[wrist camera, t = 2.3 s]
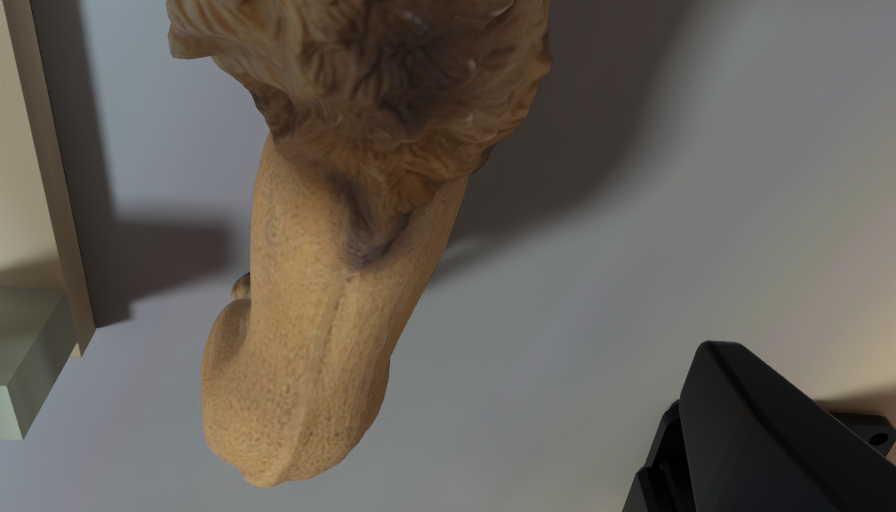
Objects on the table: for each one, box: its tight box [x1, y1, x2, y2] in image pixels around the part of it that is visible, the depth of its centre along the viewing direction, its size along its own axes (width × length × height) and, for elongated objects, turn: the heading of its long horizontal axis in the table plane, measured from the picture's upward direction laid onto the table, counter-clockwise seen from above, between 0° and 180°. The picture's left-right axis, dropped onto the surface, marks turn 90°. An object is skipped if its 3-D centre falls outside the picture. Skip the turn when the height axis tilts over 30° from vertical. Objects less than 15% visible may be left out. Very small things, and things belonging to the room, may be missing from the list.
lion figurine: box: [166, 0, 553, 487], centre depth 12 cm, size 15×5×9 cm, turn 173°
